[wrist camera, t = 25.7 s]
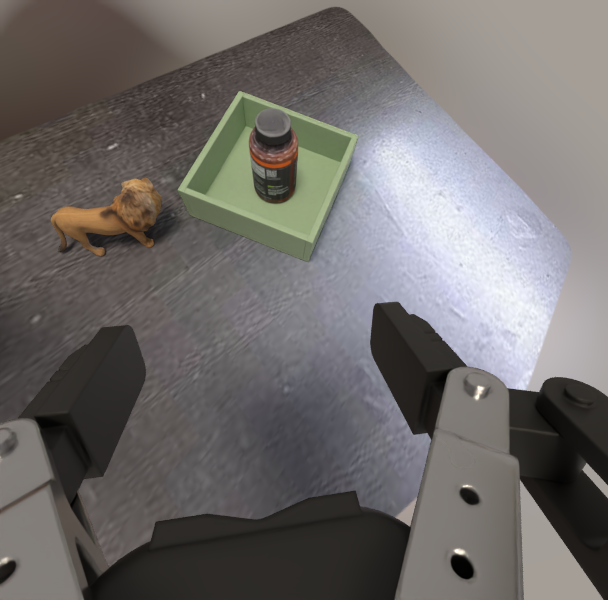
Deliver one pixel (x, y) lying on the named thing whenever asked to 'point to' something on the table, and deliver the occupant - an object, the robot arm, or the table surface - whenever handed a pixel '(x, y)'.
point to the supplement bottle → (273, 155)
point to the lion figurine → (112, 216)
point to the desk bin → (240, 187)
